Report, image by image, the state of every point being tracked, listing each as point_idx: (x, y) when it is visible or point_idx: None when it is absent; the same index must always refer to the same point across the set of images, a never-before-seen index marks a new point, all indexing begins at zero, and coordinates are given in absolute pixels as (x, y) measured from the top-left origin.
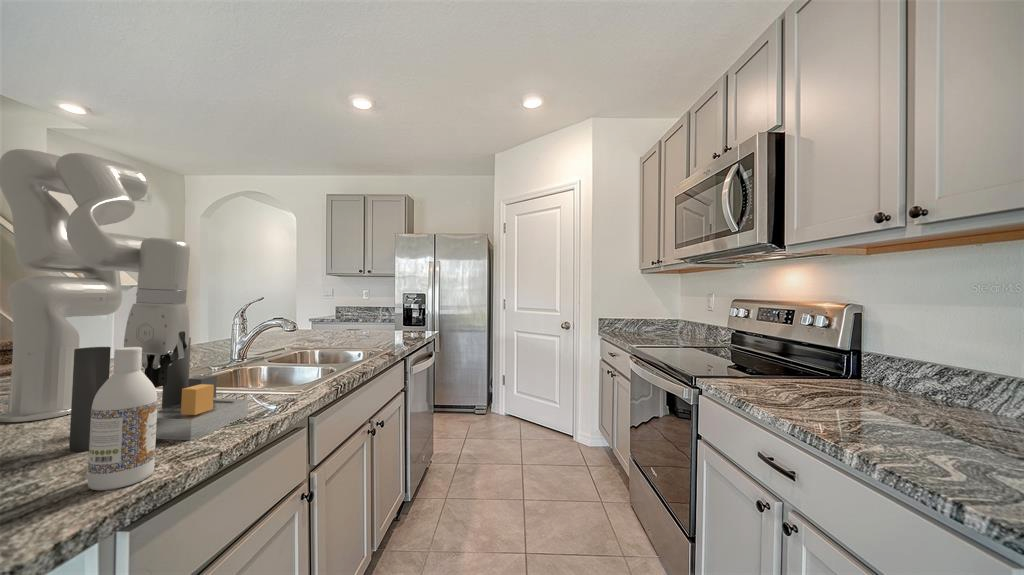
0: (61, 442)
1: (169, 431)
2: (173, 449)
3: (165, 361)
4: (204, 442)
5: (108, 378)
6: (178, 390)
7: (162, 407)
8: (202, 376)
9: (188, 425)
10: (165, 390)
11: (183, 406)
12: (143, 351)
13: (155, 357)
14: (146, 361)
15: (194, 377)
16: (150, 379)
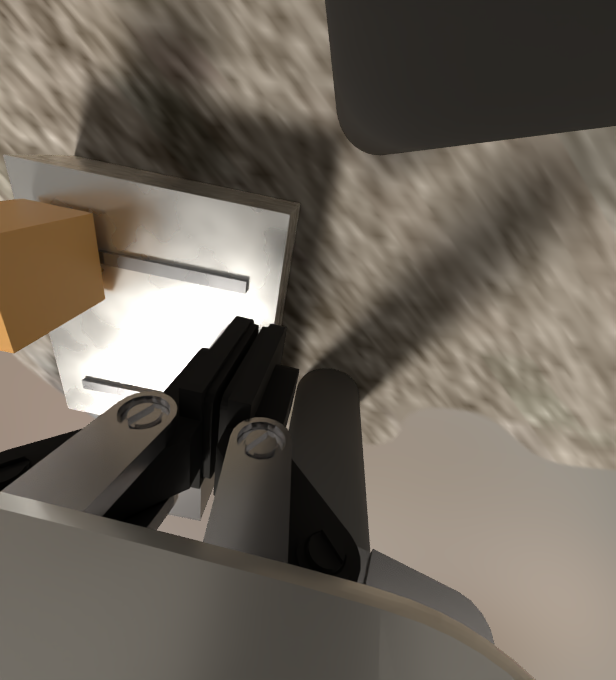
0: (527, 167)
1: (143, 175)
2: (43, 52)
3: (32, 448)
4: (9, 132)
5: (332, 29)
6: (292, 448)
7: (346, 400)
8: (183, 499)
9: (38, 156)
10: (335, 445)
11: (53, 216)
12: (69, 557)
13: (85, 491)
14: (230, 467)
15: (201, 487)
16: (222, 340)
